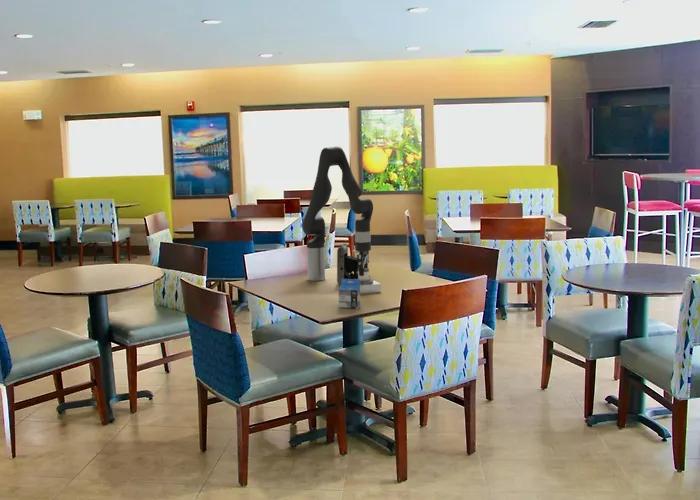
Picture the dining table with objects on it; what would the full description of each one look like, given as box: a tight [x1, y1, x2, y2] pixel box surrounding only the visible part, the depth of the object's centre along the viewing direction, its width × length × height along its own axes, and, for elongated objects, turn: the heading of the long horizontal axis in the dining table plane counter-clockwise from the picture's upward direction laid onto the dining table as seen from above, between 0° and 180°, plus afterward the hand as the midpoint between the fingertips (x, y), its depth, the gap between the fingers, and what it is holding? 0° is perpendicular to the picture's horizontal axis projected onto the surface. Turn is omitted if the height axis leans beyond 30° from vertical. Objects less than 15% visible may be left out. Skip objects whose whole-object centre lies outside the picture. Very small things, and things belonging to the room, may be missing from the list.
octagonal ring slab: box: [348, 278, 382, 295], centre depth 340 cm, size 9×15×6 cm, turn 106°
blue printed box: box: [338, 279, 361, 310], centre depth 306 cm, size 9×4×12 cm, turn 69°
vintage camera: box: [336, 243, 361, 286], centre depth 360 cm, size 10×16×20 cm, turn 78°
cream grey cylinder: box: [357, 267, 370, 282], centre depth 340 cm, size 5×5×7 cm
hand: (363, 274), depth 340 cm, fingers open, 8 cm apart
